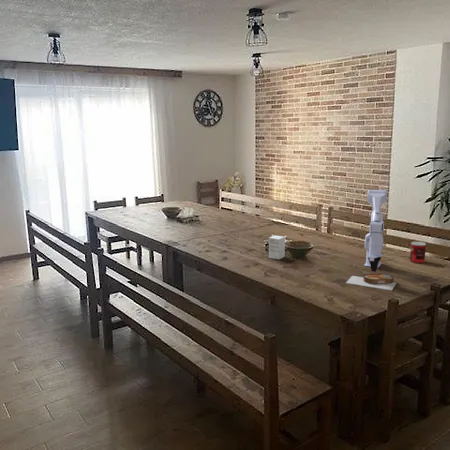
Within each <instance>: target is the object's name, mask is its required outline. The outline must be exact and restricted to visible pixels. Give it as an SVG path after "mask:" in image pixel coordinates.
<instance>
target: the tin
mask: <svg viewBox="0 0 450 450" xmlns="http://www.w3.org/2000/svg"><path fill="white" fill-rule="evenodd" d="M363 277H364V278H363V280H364V281H365V282H367V283H371V284H389V283H393V282H395V281H394V279H395V276H394V275H392V274H389V273H365V274H363Z"/></svg>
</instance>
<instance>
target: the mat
mask: <svg viewBox="0 0 450 450" xmlns="http://www.w3.org/2000/svg"><path fill="white" fill-rule="evenodd" d="M363 278H364V276H363V277H362V276H356V275H351V276H350V277H349V278H348V280H346V282H345V283H346V284H348V285H355V286H360V287H366V288H372V289H378V290H385V291H390V292H392V291H393V290H394V288H395V286H396V285H397V282H395V281H393V283H389V284H371V283H367V282H365V281H364V280H363Z"/></svg>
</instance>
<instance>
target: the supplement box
mask: <svg viewBox="0 0 450 450" xmlns="http://www.w3.org/2000/svg"><path fill="white" fill-rule="evenodd" d="M285 241H286V236H282V235H272V236H270V237H268V259H269V258H270V259H273V260H274V259H275V260H281V259H283V258H285V253H286V252H285V249H286V246H285V245H286V242H285Z"/></svg>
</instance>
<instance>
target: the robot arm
mask: <svg viewBox="0 0 450 450" xmlns="http://www.w3.org/2000/svg"><path fill="white" fill-rule="evenodd" d="M387 199H388V191H387V190H386V189H368V190H367V203H368V204H370V205H371V213H370V223H369V233H367V234H365V238H364V249H366V256H365V257H366V258H365V263H364V264H363V266H365V267H370V270H371V272H374V273H375V272H377V270H378V268H379V267H380V266H381V265H382V264H383V262H381V259H382V257H384V254H383V253H382V250H383V249H384V236H383V234H384V229H385V223H384V217H383V216H384V214H383V212H382V210H381V209H382V205H384V204H386V202H387Z"/></svg>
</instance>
